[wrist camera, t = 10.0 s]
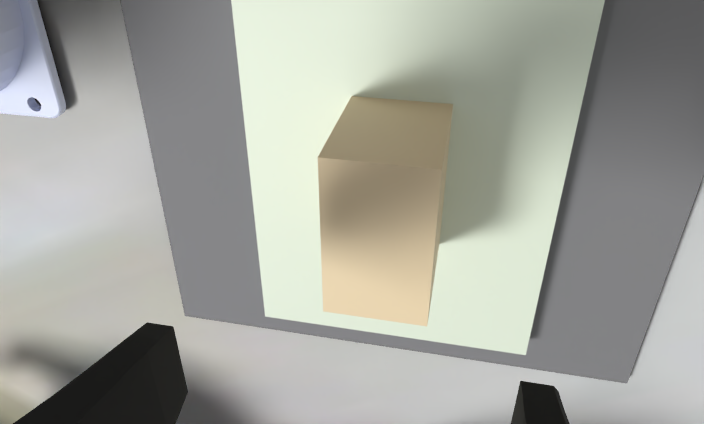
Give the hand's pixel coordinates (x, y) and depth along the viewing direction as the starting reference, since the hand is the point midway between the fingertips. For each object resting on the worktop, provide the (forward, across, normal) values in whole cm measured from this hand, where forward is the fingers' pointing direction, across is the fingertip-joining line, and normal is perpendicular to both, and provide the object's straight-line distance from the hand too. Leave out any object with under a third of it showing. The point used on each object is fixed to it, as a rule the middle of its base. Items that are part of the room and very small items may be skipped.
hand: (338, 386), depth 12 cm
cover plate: (+9, 0, 0) cm, 9 cm away
